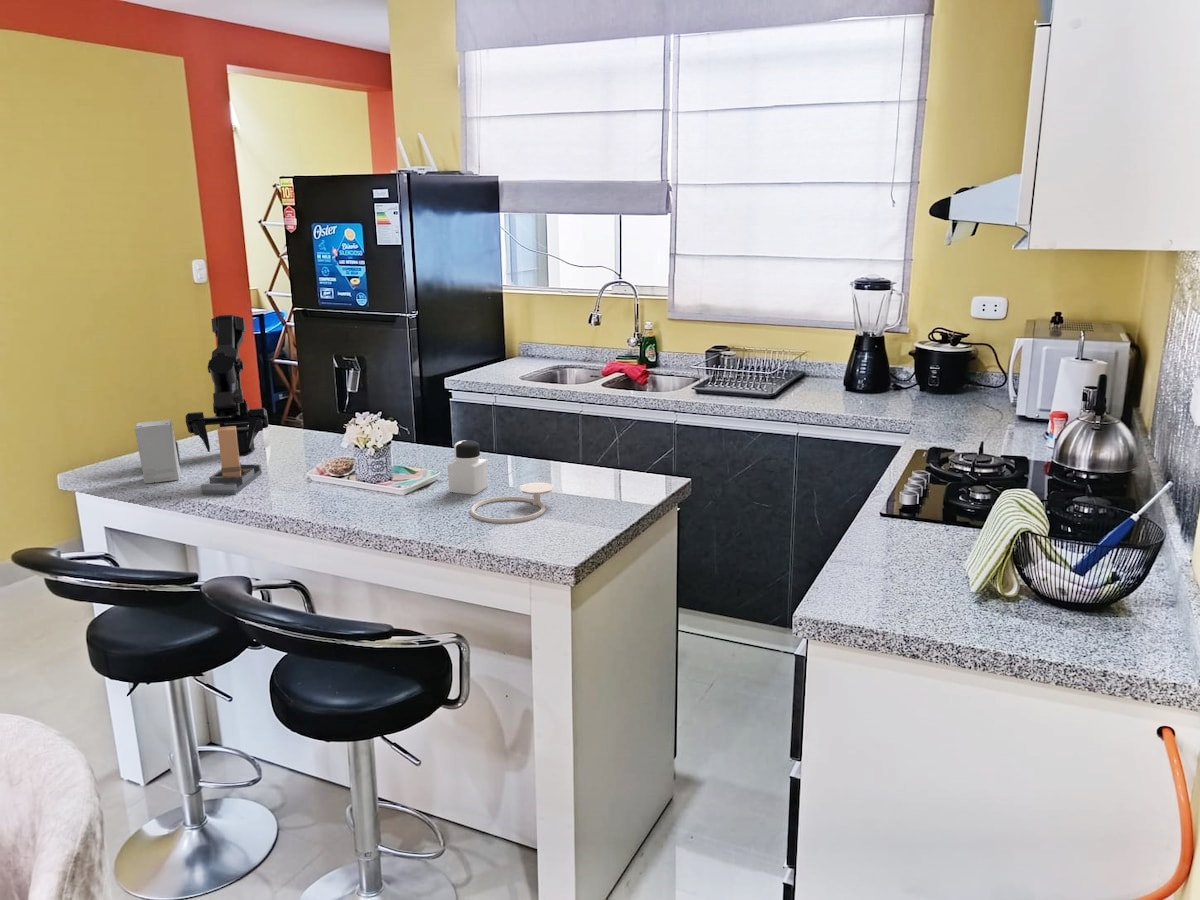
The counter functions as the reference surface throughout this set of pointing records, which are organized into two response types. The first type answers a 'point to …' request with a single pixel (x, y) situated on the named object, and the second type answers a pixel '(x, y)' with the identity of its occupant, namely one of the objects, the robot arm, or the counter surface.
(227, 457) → the tan tall block
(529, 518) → the hand towel holder
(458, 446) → the medicine bottle
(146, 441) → the skincare box
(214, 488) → the dark grey holder base
